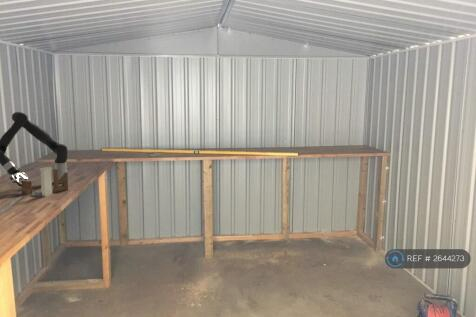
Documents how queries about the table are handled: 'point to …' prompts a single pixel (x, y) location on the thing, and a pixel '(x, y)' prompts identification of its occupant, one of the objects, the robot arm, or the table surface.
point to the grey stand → (45, 183)
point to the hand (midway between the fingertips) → (25, 184)
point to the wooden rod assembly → (63, 179)
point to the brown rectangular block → (26, 187)
